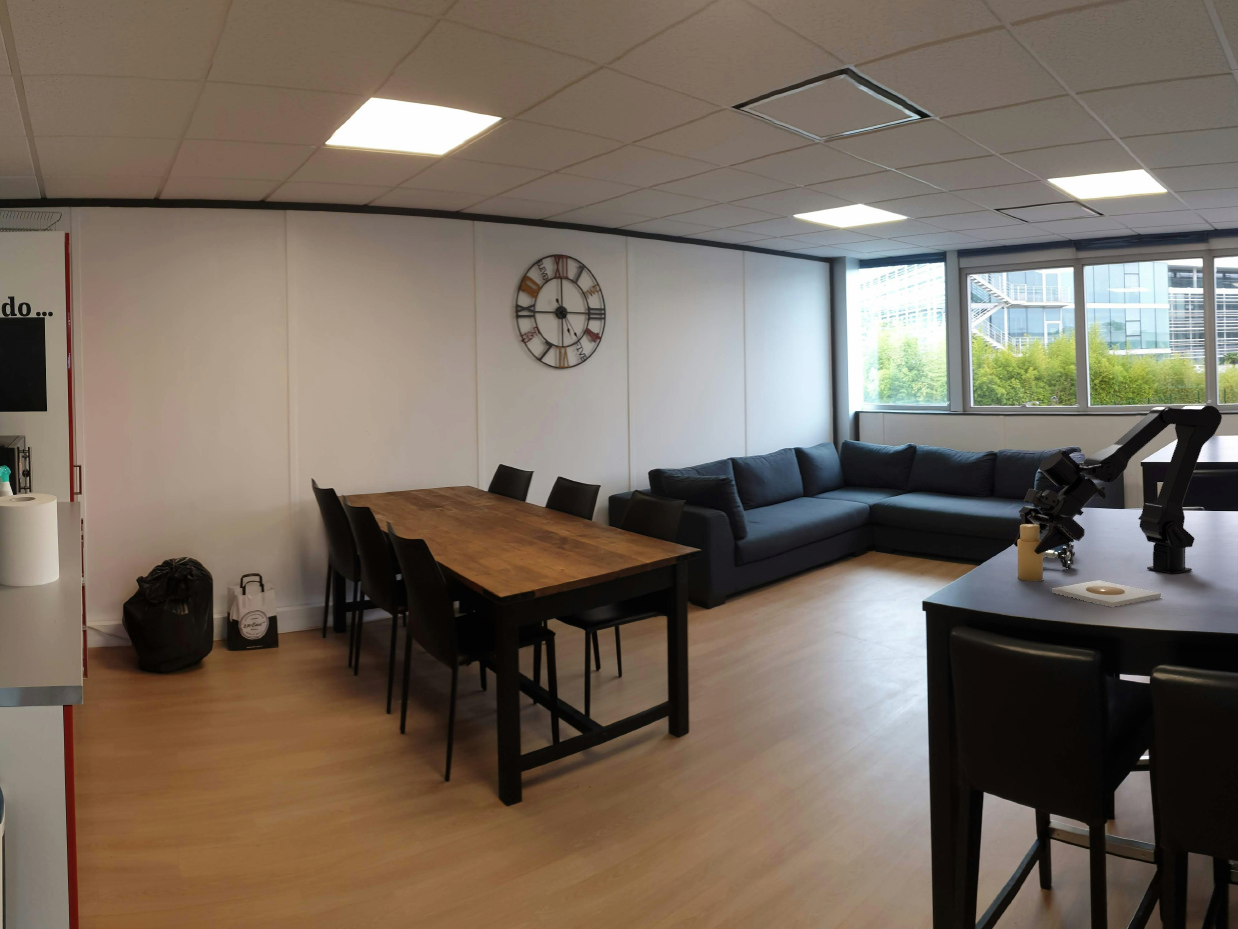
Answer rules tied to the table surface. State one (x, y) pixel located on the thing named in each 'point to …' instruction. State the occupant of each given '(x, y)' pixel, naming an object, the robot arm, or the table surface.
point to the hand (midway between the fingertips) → (1025, 549)
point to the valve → (1062, 555)
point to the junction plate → (1106, 593)
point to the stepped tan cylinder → (1029, 553)
